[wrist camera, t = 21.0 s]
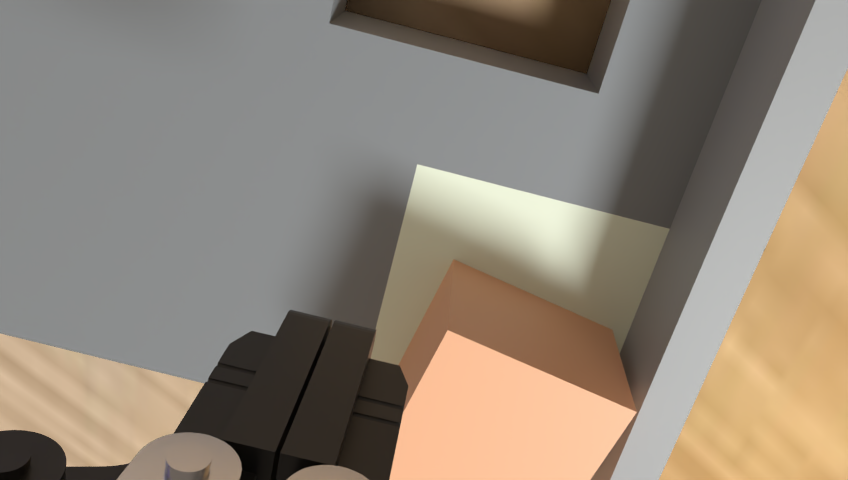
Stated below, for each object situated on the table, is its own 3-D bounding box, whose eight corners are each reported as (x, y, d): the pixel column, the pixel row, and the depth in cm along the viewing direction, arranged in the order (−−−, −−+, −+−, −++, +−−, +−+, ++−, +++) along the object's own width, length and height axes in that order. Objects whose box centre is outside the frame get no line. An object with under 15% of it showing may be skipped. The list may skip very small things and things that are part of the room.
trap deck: (866, -224, 19) (1001, -268, 14) (598, 433, 27) (624, 554, 22) (-432, -585, 18) (-779, -767, 13) (-320, 206, 26) (-511, 279, 21)
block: (612, 329, 23) (637, 412, 19) (531, 456, 25) (539, 553, 21) (453, 259, 22) (447, 330, 19) (382, 394, 24) (365, 482, 21)
